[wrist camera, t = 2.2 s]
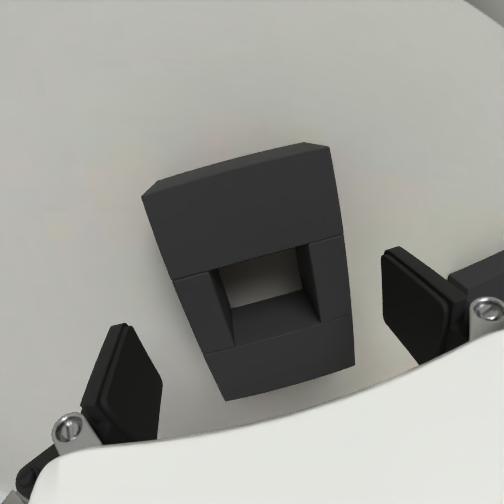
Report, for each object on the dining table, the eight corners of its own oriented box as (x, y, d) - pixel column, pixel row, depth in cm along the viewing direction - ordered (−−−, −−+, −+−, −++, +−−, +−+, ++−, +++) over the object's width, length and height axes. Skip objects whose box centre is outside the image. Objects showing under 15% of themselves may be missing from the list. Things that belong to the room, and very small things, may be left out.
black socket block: (156, 181, 12) (140, 196, 10) (304, 141, 12) (329, 146, 10) (222, 361, 16) (225, 401, 14) (335, 330, 16) (355, 365, 14)
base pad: (448, 274, 16) (484, 302, 13) (520, 241, 16) (552, 260, 13) (428, 396, 21) (447, 424, 18) (493, 358, 21) (513, 380, 18)
